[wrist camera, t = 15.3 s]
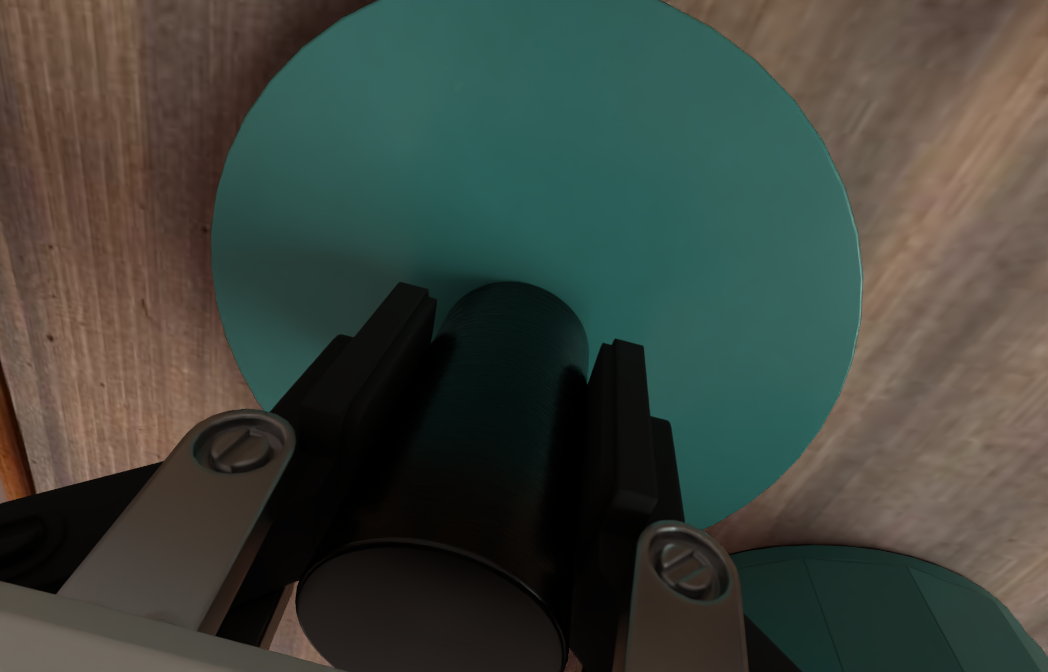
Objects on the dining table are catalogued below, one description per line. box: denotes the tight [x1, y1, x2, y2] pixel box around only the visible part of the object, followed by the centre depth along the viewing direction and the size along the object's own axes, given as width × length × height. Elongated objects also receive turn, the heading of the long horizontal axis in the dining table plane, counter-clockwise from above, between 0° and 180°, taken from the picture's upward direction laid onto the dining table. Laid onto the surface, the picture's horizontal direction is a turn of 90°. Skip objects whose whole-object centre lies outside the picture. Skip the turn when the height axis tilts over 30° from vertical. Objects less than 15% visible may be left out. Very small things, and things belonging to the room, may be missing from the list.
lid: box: [211, 0, 863, 672], centre depth 10 cm, size 14×14×8 cm
